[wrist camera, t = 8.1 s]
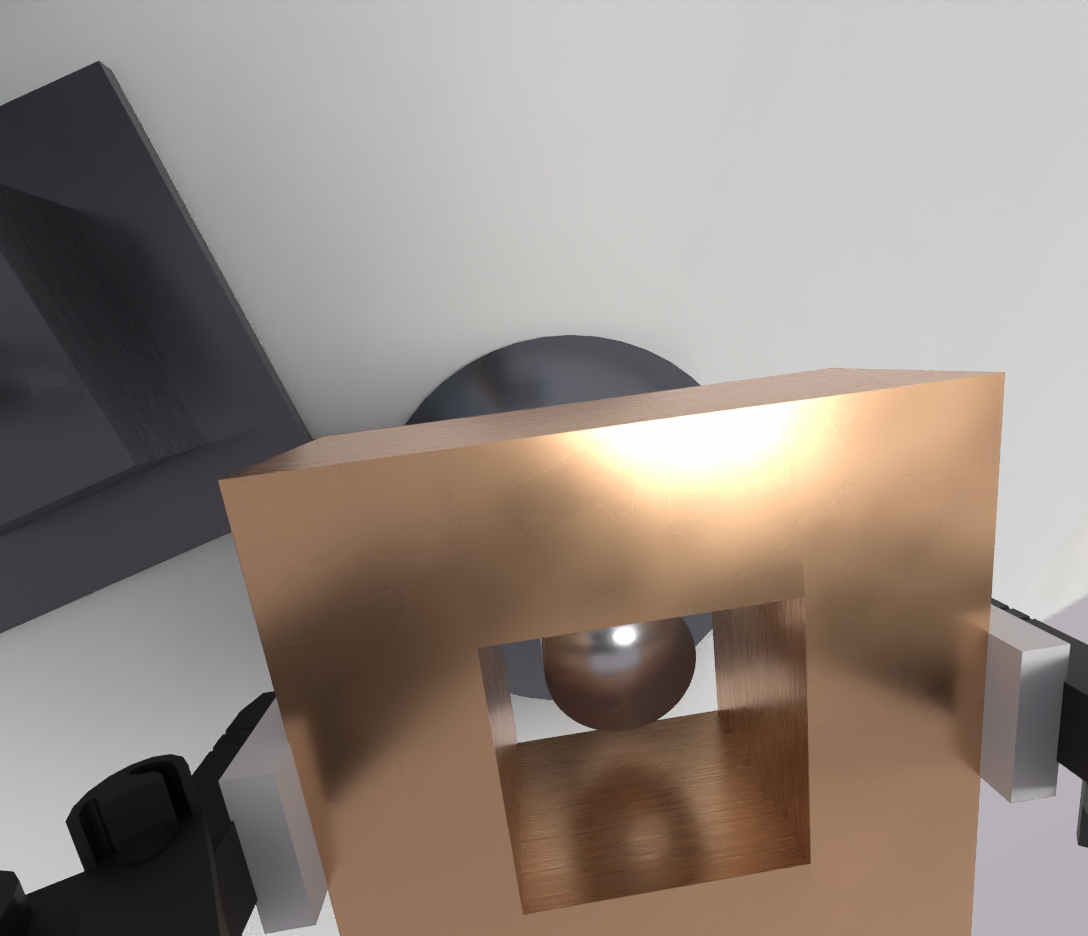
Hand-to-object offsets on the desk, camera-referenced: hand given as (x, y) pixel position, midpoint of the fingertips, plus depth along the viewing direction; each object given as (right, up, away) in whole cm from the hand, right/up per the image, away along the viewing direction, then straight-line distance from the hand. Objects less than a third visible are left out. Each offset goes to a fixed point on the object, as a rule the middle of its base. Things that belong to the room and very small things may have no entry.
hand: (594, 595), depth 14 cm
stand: (-18, +6, +3) cm, 19 cm away
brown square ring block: (0, -1, -2) cm, 2 cm away
